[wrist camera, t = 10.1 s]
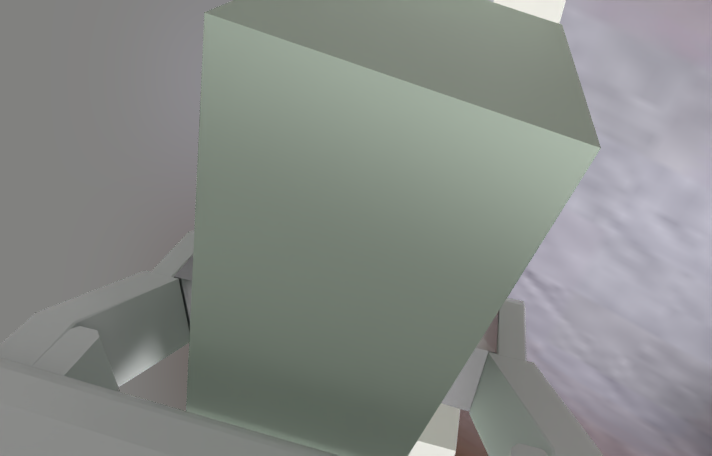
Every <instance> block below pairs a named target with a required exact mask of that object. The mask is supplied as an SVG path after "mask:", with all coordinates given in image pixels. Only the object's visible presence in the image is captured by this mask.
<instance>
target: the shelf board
mask: <svg viewBox="0 0 712 456" xmlns="http://www.w3.org/2000/svg"><path fill="white" fill-rule="evenodd" d="M600 149H601V147H600V144H599V141H598V138H597V134H596V131H595V128H594V125H593V122H592V119H591V115H590V112H589V109H588V106H587V103H586V100H585V96H584V93H583V90H582V87H581V84H580V80H579V77H578V74H577V71H576V68H575V65H574V61H573V58H572V55H571V52H570V49H569V46H568V42H567V39H566V36H565V33H564V30H563V27H562V25H561V24H558V23H555V22H552V21H549V20H546V19H543V18H540V17H537V16H534V15H531V14H528V13H525V12H522V11H518V10H515V9H512V8H509V7H506V6H503V5H500V4H497V3H494V2H491V1H488V0H233V1H231V2H228V3H226V4H224V5H221V6H219V7H216V8H214V9H211V10H209V11H207V12H205V13H204V35H203V56H202V77H201V100H200V122H199V142H198V165H197V186H196V208H195V230H194V251H193V273H192V295H191V316H190V338H189V360H188V381H187V404H186V411H187V412H191V413H194V414H197V415H201V416H204V417H208V418H211V419H215V420H218V421H222V422H225V423H229V424H232V425H235V426H239V427H242V428H246V429H249V430H253V431H256V432H260V433H263V434H267V435H270V436H274V437H277V438H281V439H284V440H287V441H291V442H294V443H298V444H301V445H305V446H308V447H312V448H315V449H319V450H322V451H326V452H329V453H333V454H336V455H339V456H408V455H409V453H410V452H411V450H412V449H413V447H414V445H415V444H416V442H417V441H418V439H419V437H420V436H421V434H422V433H423V431H424V429H425V428H426V426H427V425H428V423H429V421H430V420H431V418H432V417H433V415H434V413H435V412H436V410H437V409H438V407H439V405H440V404H441V402H442V401H443V399H444V398H445V396H446V394H447V393H448V391H449V390H450V388H451V386H452V385H453V383H454V382H455V380H456V378H457V377H458V375H459V374H460V372H461V370H462V369H463V367H464V366H465V364H466V362H467V361H468V359H469V358H470V356H471V354H472V353H473V351H474V350H475V348H476V346H477V345H478V343H479V342H480V340H481V338H482V337H483V335H484V334H485V332H486V330H487V329H488V327H489V326H490V324H491V323H492V321H493V319H494V318H495V316H496V315H497V313H498V311H499V310H500V308H501V307H502V305H503V303H504V302H505V300H506V299H507V297H508V295H509V294H510V292H511V291H512V289H513V287H514V286H515V284H516V283H517V281H518V279H519V278H520V276H521V275H522V273H523V271H524V270H525V268H526V267H527V265H528V263H529V262H530V260H531V259H532V257H533V255H534V254H535V252H536V251H537V249H538V248H539V246H540V244H541V243H542V241H543V240H544V238H545V236H546V235H547V233H548V232H549V230H550V228H551V227H552V225H553V224H554V222H555V220H556V219H557V217H558V216H559V214H560V212H561V211H562V209H563V208H564V206H565V204H566V203H567V201H568V200H569V198H570V196H571V195H572V193H573V192H574V190H575V188H576V187H577V185H578V184H579V182H580V180H581V179H582V177H583V176H584V174H585V173H586V171H587V169H588V168H589V166H590V165H591V163H592V161H593V160H594V158H595V157H596V155H597V153H598V152H599V150H600Z"/></svg>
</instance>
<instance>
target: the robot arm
mask: <svg viewBox="0 0 712 456" xmlns="http://www.w3.org/2000/svg"><path fill="white" fill-rule="evenodd" d="M193 251H194V230H193V231H191V232H188V233H187V234H186V235H185V236H184V237H183V238H182V240H180V242H179V243H178V244H177V245H176V246H175V247H174V248H173V249H172V250H171V251H170V252H169V253H168V254H167V255H166V256H165V257H164V258H163V260H162V261H161V262H160V263H159V264H158V265H157V266H156V267H155V268H154V269H153V270H152V271H151V272H149V271H142V272H140V273H137V274H134V275H132V276H129V277H127V278H124V279H121V280H119V281H116V282H114V283H111V284H109V285H106V286H103V287H101V288H98V289H96V290H93V291H90V292H88V293H85V294H83V295H80V296H77V297H75V298H72V299H69V300H67V301H65V302H62V303H59V304H57V305H54V306H51V307H49V308H46V309H44V310H41V311H38V312H36V313H35V314H34V315H32V316H31V317H30V318H29V319H28V320H27V321H26V322H25V323H23V324H22V325H21V326H20V327H19V328H18V329H17V330H16V331H14V332H13V333H12V334H11V335H10V336H9V337H8V338H7V339H6V340H4V341H3V342H2V343H1V344H0V456H339V455H336V454H333V453H329V452H326V451H322V450H319V449H315V448H312V447H308V446H305V445H301V444H298V443H294V442H291V441H287V440H284V439H281V438H277V437H274V436H270V435H267V434H263V433H260V432H256V431H253V430H249V429H246V428H242V427H239V426H235V425H232V424H229V423H225V422H222V421H218V420H215V419H211V418H208V417H204V416H201V415H197V414H194V413H191V412H187V411H184V410H180V409H177V408H173V407H170V406H166V405H163V404H159V403H156V402H153V401H149V400H146V399H142V398H139V397H136V396H132V395H128V394H125V393H122V392H120V390H119V386H121V385H123V384H124V383H126V382H127V381H129V380H131V379H132V378H134V377H136V376H137V375H138V374H140V373H142V372H143V371H145V370H147V369H148V368H150V367H151V366H153V365H154V364H156V363H158V362H159V361H161V360H162V359H164V358H166V357H167V356H169V355H170V354H172V353H174V352H175V351H177V350H178V349H180V348H181V347H183V346H184V345H186V344H188V343H189V338H190V316H191V295H192V273H193ZM441 403H442V404H445V405H448V406H452V407H455V408H459V409H462V410H466V411H469V412H470V413H469V414H470V416H471V418H472V420H473V422H474V425H475V427H476V429H477V431H478V433H479V436H480V438H481V440H482V442H483V444H484V446H485V449H486V451H487V453H488V455H489V456H603V454H602V453H601V452H600V450H599V449H598V448H597V446H596V445H595V444H594V442H593V441H592V440H591V438H590V437H589V436H588V434H587V433H586V432H585V430H584V429H583V428H582V426H581V425H580V424H579V422H578V421H577V420H576V418H575V417H574V416H573V414H572V413H571V412H570V410H569V409H568V408H567V406H566V405H565V404H564V402H563V401H562V400H561V398H560V397H559V396H558V394H557V393H556V392H555V390H554V389H553V388H552V386H551V385H550V384H549V382H548V381H547V380H546V378H545V377H544V376H543V374H542V373H541V372H540V370H539V369H538V368H537V366H536V365H535V364H534V363H532V362H528V361H526V325H525V304H524V302H523V301H519V300H514V299H509V298H507V299H506V300H505V302H504V303H503V305H502V307H501V308H500V310H499V311H498V313H497V315H496V316H495V318H494V319H493V321H492V323H491V324H490V326H489V327H488V329H487V330H486V332H485V334H484V335H483V337H482V338H481V340H480V342H479V343H478V345H477V346H476V348H475V350H474V351H473V353H472V354H471V356H470V358H469V359H468V361H467V362H466V364H465V366H464V367H463V369H462V370H461V372H460V374H459V375H458V377H457V378H456V380H455V382H454V383H453V385H452V386H451V388H450V390H449V391H448V393H447V394H446V396H445V398H444V399H443V401H442V402H441Z"/></svg>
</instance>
